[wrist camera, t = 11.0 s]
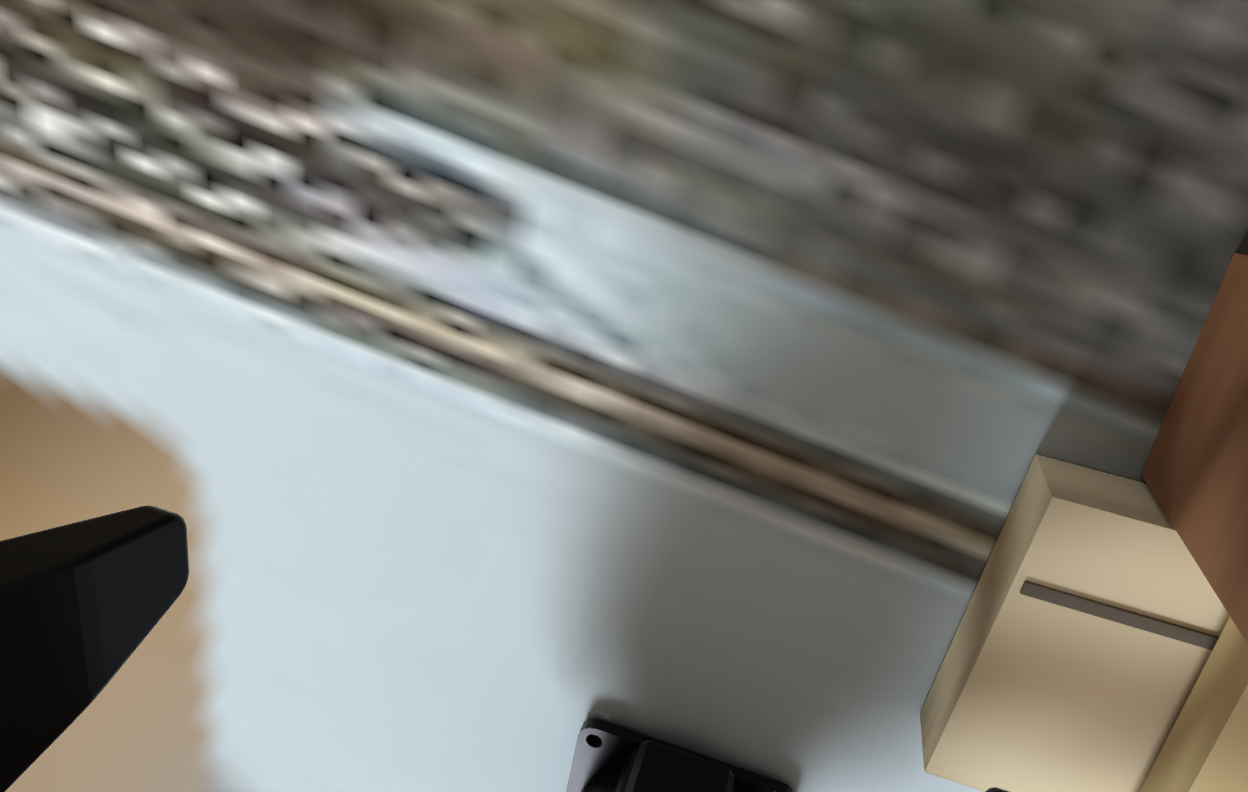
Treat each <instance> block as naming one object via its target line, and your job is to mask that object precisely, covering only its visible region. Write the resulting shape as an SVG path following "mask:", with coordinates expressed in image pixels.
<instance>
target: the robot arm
mask: <svg viewBox="0 0 1248 792" xmlns="http://www.w3.org/2000/svg"><path fill="white" fill-rule="evenodd" d="M188 575H189V561H188V544H187V528H186V523H185V521H184V519H183V518H182V517H181V516H180V515H178V514H176V513H173V512H170V511H167V510H164V509H161V508H158V507H155V506H142V507H138V508H134V509H130V510H126V511H121V512H117V513H113V514H110V515H105V516H101V517H97V518H93V519H89V520H85V521H81V522H77V523H72V524H68V525H64V526H61V527H56V528H52V529H48V530H44V531H40V532H36V533H32V534H28V535H24V536H20V537H15V538H11V539H7V540H3V541H0V792H5V791H6V790H7V789H8V788H9V787H10V786H11V785H12V784H13V783H14V782H15V781H16V780H17V779H18V778H19V777H20V776H21V775H22V774H23V773H24V771H26V769H27V768H28V767H29V766H30V765H31V764H32V763H33V762H34V761H35V760H36V759H37V758H38V757H39V756H40V755H41V754H42V753H43V752H44V751H45V750H46V749H47V748H48V747H49V746H50V745H51V744H52V743H53V742H54V741H55V740H56V739H57V738H58V737H59V736H60V735H61V734H62V733H63V732H64V731H65V730H66V729H67V727H69V726H70V725H71V724H72V723H73V722H74V720H75V719H76V718H77V717H78V716H79V715H80V714H81V713H82V712H83V711H84V710H85V709H86V708H87V707H88V705H90V703H91V702H92V701H93V700H94V699H95V698H96V696H97V695H98V694H99V693H100V692H101V691H102V690H103V688H104V687H105V686H106V685H107V684H108V683H109V681H110V680H111V679H112V678H113V676H114V675H115V674H116V673H117V672H118V670H119V669H120V668H121V667H122V665H123V664H124V663H125V662H126V660H127V659H128V658H129V657H130V656H131V654H132V653H133V652H134V651H135V649H136V648H137V647H138V645H140V643H141V642H142V641H143V640H144V638H145V637H146V636H147V635H148V633H149V632H150V631H151V630H152V629H153V627H154V626H155V625H156V624H157V622H158V621H159V620H160V618H162V616H163V615H164V614H165V613H166V611H167V610H168V609H169V608H170V606H171V605H172V604H173V603H174V602H175V600H176V599H177V598H178V597H179V595H180V594H181V593H182V591H183V589H184V587H185V585H186V583H187V580H188ZM592 734H593V735H597V736H598V737H600V738H597V737H595V736H593V735H592ZM567 792H793V790H792V789H791V788H790V787H789V786H788V785H787V784H785V783H783V782H780V781H777V780H774V779H772V778H769V777H766V776H763V775H760V774H757V773H754V772H751V771H749V770H746V769H743V768H740V767H737V766H734V765H731V764H728V763H725V762H723V761H720V760H717V759H714V758H711V757H708V756H705V755H702V754H700V753H697V752H694V751H691V750H688V749H685V748H682V747H679V746H676V745H674V744H671V743H668V742H665V741H662V740H659V739H656V738H653V737H650V736H648V735H645V734H642V733H639V732H636V731H633V730H630V729H627V728H625V727H622V726H619V725H616V724H613V723H610V722H607V721H604V720H601V719H597V718H591V719H588V720H586V721H585V722H584V724H583V725H582V728H581V730H580V733H579V735H578V739H577V744H576V749H575V753H574V758H573V763H572V768H571V773H570V777H569V782H568V787H567ZM985 792H1009V791H1006V790H1003V789H1000V788H996V787H993V788H989V789H988V790H987V791H985Z"/></svg>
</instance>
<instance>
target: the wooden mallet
mask: <svg viewBox="0 0 1248 792" xmlns="http://www.w3.org/2000/svg"><path fill="white" fill-rule="evenodd" d="M1141 476H1142V477H1143V479H1144V480H1145V482H1146V484H1147V485H1148V487H1149V488H1150V490H1151V492H1152V493H1153V495H1154V496H1155V498H1156V500H1157V501H1158V503H1159V504H1160V506H1161V507H1162V509H1163V511H1164V512H1165V514H1166V515H1167V517H1168V519H1169V520H1170V522H1171V523H1172V525H1173V527H1174V528H1175V530H1176V531H1177V533H1178V534H1179V536H1180V538H1181V539H1182V541H1183V542H1184V544H1185V546H1186V547H1187V549H1188V550H1189V552H1190V554H1191V555H1192V557H1193V558H1194V560H1195V562H1196V563H1197V565H1198V566H1199V568H1200V569H1201V571H1202V573H1203V574H1204V576H1205V577H1206V579H1207V581H1208V582H1209V584H1210V585H1211V587H1212V589H1213V590H1214V592H1215V593H1216V595H1217V597H1218V598H1219V600H1220V601H1221V603H1222V604H1223V606H1224V608H1225V609H1226V611H1227V612H1228V614H1229V616H1230V617H1229V619H1228V621H1227V623H1226V625H1225V627H1224V629H1223V631H1222V633H1221V635H1220V637H1219V639H1218V641H1217V643H1216V645H1215V646H1214V648H1213V650H1212V652H1211V654H1210V656H1209V658H1208V660H1207V662H1206V664H1205V666H1204V668H1203V670H1202V672H1201V674H1200V676H1199V678H1198V680H1197V682H1196V683H1195V685H1194V687H1193V689H1192V691H1191V693H1190V695H1189V697H1188V699H1187V701H1186V703H1185V705H1184V707H1183V709H1182V711H1181V713H1180V715H1179V717H1178V718H1177V720H1176V722H1175V724H1174V726H1173V728H1172V730H1171V732H1170V734H1169V736H1168V738H1167V740H1166V742H1165V744H1164V746H1163V748H1162V750H1161V752H1160V753H1159V755H1158V757H1157V759H1156V761H1155V763H1154V765H1153V767H1152V769H1151V771H1150V773H1149V775H1148V777H1147V779H1146V781H1145V783H1144V785H1143V787H1142V789H1141V790H1140V792H1248V255H1245V254H1238V253H1234V255H1233V257H1232V259H1231V262H1230V264H1229V266H1228V269H1227V271H1226V274H1225V276H1224V278H1223V281H1222V283H1221V285H1220V288H1219V290H1218V293H1217V295H1216V297H1215V300H1214V302H1213V304H1212V307H1211V309H1210V312H1209V314H1208V316H1207V319H1206V321H1205V323H1204V326H1203V328H1202V331H1201V333H1200V335H1199V338H1198V340H1197V342H1196V345H1195V347H1194V350H1193V352H1192V354H1191V357H1190V359H1189V361H1188V364H1187V366H1186V369H1185V371H1184V373H1183V376H1182V378H1181V380H1180V383H1179V385H1178V388H1177V390H1176V392H1175V395H1174V397H1173V399H1172V402H1171V404H1170V407H1169V409H1168V411H1167V414H1166V416H1165V418H1164V421H1163V423H1162V426H1161V428H1160V430H1159V433H1158V435H1157V437H1156V440H1155V442H1154V445H1153V447H1152V449H1151V452H1150V454H1149V456H1148V459H1147V461H1146V464H1145V466H1144V468H1143V471H1142V473H1141Z"/></svg>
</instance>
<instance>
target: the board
mask: <svg viewBox="0 0 1248 792" xmlns="http://www.w3.org/2000/svg"><path fill="white" fill-rule="evenodd" d="M1229 617H1230V616H1229V614H1228V612H1227V611H1226V609H1225V608H1224V606H1223V604H1222V603H1221V601H1220V600H1219V598H1218V597H1217V595H1216V593H1215V592H1214V590H1213V589H1212V587H1211V585H1210V584H1209V582H1208V581H1207V579H1206V577H1205V576H1204V574H1203V573H1202V571H1201V569H1200V568H1199V566H1198V565H1197V563H1196V562H1195V560H1194V558H1193V557H1192V555H1191V554H1190V552H1189V550H1188V549H1187V547H1186V546H1185V544H1184V542H1183V541H1182V539H1181V538H1180V536H1179V534H1178V533H1177V531H1176V530H1175V528H1174V527H1173V525H1172V523H1171V522H1170V520H1169V519H1168V517H1167V515H1166V514H1165V512H1164V511H1163V509H1162V507H1161V506H1160V504H1159V503H1158V501H1157V500H1156V498H1155V496H1154V495H1153V493H1152V492H1151V490H1150V488H1149V487H1148V485H1147V484H1146V483H1142V482H1139V481H1135V480H1131V479H1127V478H1124V477H1120V476H1116V475H1112V474H1109V473H1105V472H1101V471H1097V470H1094V469H1090V468H1086V467H1082V466H1079V465H1075V464H1071V463H1067V462H1064V461H1060V460H1056V459H1052V458H1049V457H1045V456H1041V455H1037V454H1035V456H1034V458H1033V460H1032V462H1031V465H1030V467H1029V469H1028V471H1027V474H1026V476H1025V478H1024V480H1023V483H1022V485H1021V487H1020V489H1019V492H1018V494H1017V496H1016V498H1015V501H1014V503H1013V505H1012V507H1011V510H1010V512H1009V514H1008V516H1007V519H1006V521H1005V523H1004V525H1003V528H1002V530H1001V532H1000V534H999V537H998V539H997V541H996V543H995V546H994V548H993V550H992V552H991V555H990V557H989V559H988V561H987V564H986V566H985V568H984V570H983V573H982V575H981V577H980V579H979V582H978V584H977V586H976V588H975V591H974V593H973V595H972V597H971V600H970V602H969V604H968V606H967V609H966V611H965V613H964V615H963V618H962V620H961V622H960V624H959V627H958V629H957V631H956V634H955V636H954V638H953V640H952V643H951V645H950V647H949V649H948V652H947V654H946V656H945V658H944V661H943V663H942V665H941V667H940V670H939V672H938V674H937V676H936V679H935V681H934V683H933V685H932V688H931V690H930V692H929V694H928V697H927V699H926V701H925V703H924V706H923V708H922V710H921V712H920V719H921V732H922V745H923V758H924V770H925V772H927V773H930V774H933V775H936V776H939V777H942V778H945V779H948V780H951V781H954V782H957V783H960V784H963V785H966V786H969V787H971V788H974V789H977V790H980V791H983V792H985V791H987V790H988V789H989V788H993V787H996V788H1000V789H1003V790H1006V791H1009V792H1140V790H1141V789H1142V787H1143V785H1144V783H1145V781H1146V779H1147V777H1148V775H1149V773H1150V771H1151V769H1152V767H1153V765H1154V763H1155V761H1156V759H1157V757H1158V755H1159V753H1160V752H1161V750H1162V748H1163V746H1164V744H1165V742H1166V740H1167V738H1168V736H1169V734H1170V732H1171V730H1172V728H1173V726H1174V724H1175V722H1176V720H1177V718H1178V717H1179V715H1180V713H1181V711H1182V709H1183V707H1184V705H1185V703H1186V701H1187V699H1188V697H1189V695H1190V693H1191V691H1192V689H1193V687H1194V685H1195V683H1196V682H1197V680H1198V678H1199V676H1200V674H1201V672H1202V670H1203V668H1204V666H1205V664H1206V662H1207V660H1208V658H1209V656H1210V654H1211V652H1212V650H1213V648H1214V646H1215V645H1216V643H1217V641H1218V639H1219V637H1220V635H1221V633H1222V631H1223V629H1224V627H1225V625H1226V623H1227V621H1228V619H1229Z"/></svg>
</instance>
